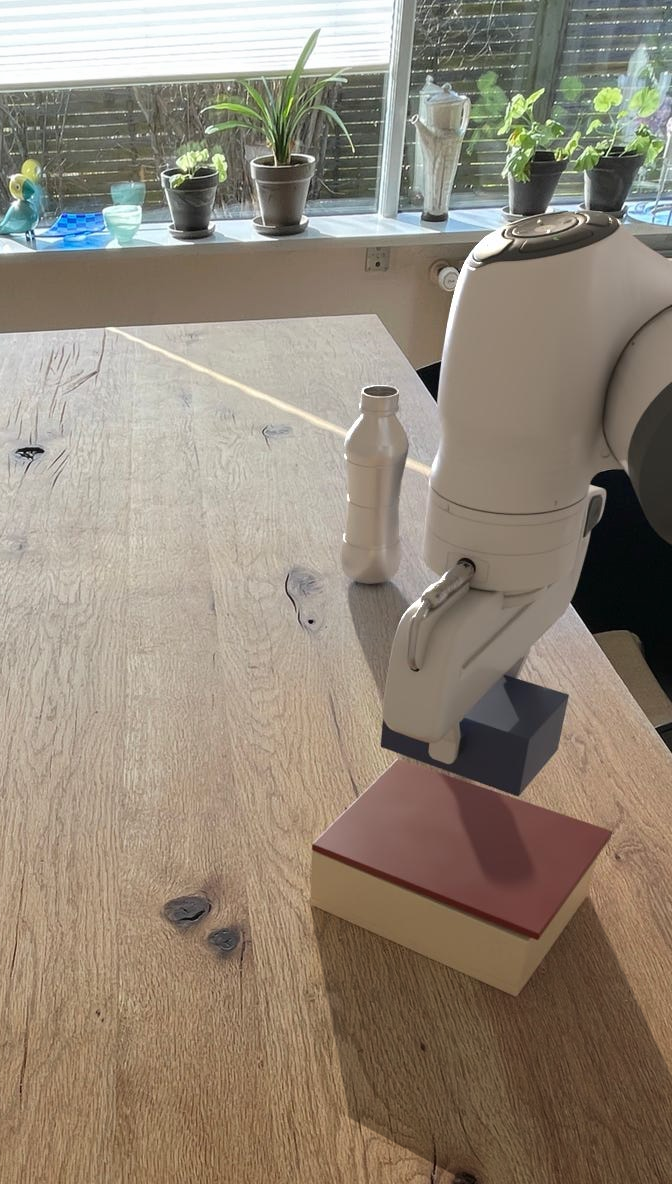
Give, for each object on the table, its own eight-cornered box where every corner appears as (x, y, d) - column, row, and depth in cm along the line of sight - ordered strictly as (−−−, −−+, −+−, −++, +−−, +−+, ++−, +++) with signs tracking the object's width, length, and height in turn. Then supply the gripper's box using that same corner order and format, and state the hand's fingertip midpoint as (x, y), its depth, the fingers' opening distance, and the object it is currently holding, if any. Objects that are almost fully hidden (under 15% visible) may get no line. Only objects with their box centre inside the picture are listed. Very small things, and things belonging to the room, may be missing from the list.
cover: (611, 837, 81) (612, 830, 80) (538, 940, 73) (539, 934, 73) (397, 764, 89) (397, 758, 89) (311, 850, 82) (311, 844, 81)
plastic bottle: (385, 596, 121) (399, 406, 108) (328, 583, 124) (335, 396, 111) (409, 571, 125) (425, 385, 112) (353, 559, 128) (363, 376, 115)
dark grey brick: (557, 750, 76) (569, 694, 73) (518, 797, 72) (529, 740, 69) (423, 705, 80) (429, 650, 78) (379, 747, 77) (384, 691, 74)
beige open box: (588, 894, 85) (601, 839, 81) (516, 997, 77) (528, 942, 74) (392, 817, 93) (396, 764, 89) (309, 904, 85) (311, 850, 82)
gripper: (470, 618, 58) (442, 827, 67) (618, 483, 71) (577, 674, 80) (363, 588, 61) (350, 791, 70) (523, 462, 74) (494, 649, 83)
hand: (472, 728), depth 75 cm, fingers closed on dark grey brick, 6 cm apart
